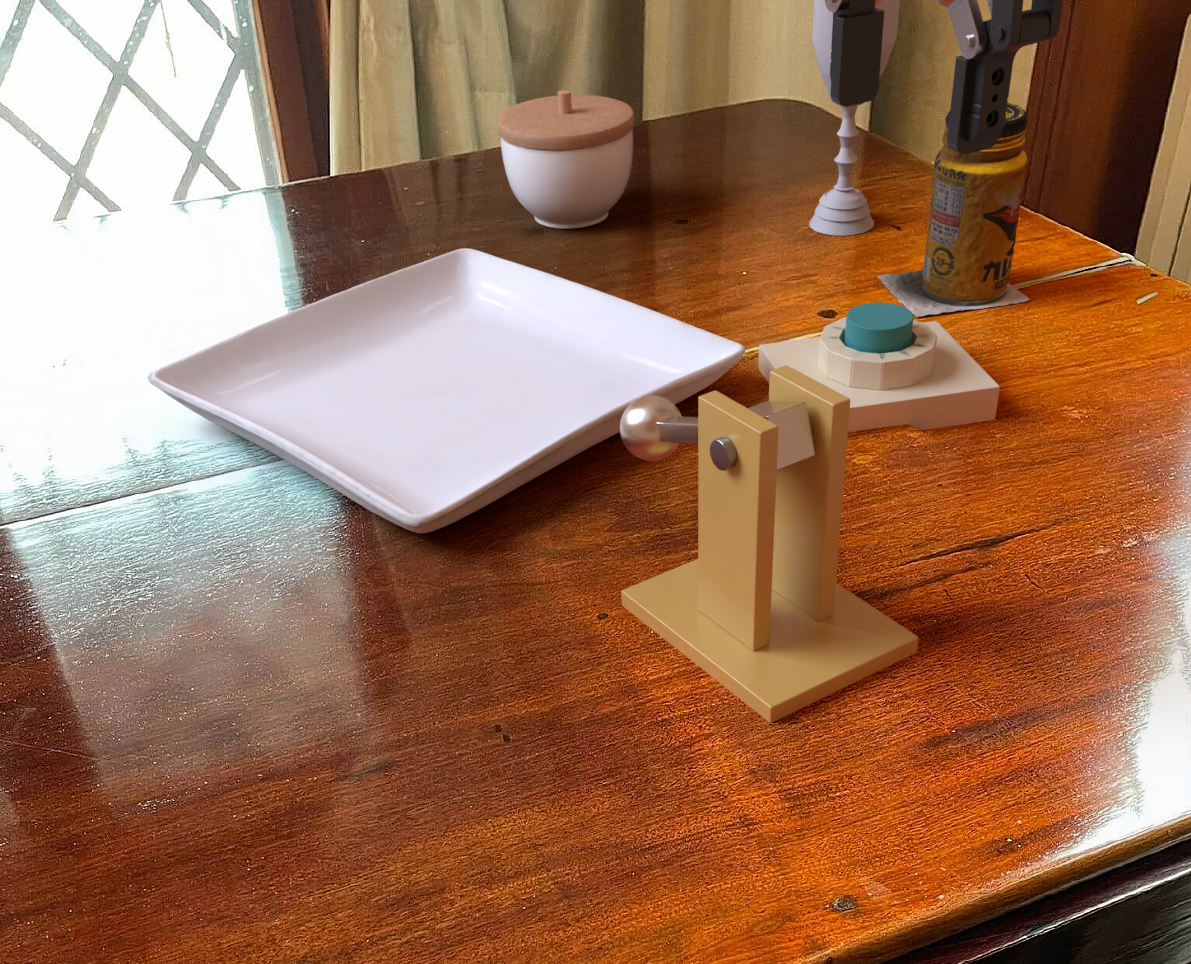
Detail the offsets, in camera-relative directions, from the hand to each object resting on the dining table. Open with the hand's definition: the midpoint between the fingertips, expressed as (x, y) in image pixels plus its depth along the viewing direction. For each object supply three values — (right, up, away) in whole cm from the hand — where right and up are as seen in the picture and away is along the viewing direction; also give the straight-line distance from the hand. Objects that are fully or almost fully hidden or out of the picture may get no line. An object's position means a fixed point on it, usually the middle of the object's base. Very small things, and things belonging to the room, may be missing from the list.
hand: (909, 124), depth 62 cm
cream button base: (+4, -5, +26) cm, 27 cm away
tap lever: (-8, -14, +5) cm, 17 cm away
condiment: (+11, +6, +38) cm, 40 cm away
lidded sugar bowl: (-16, +18, +53) cm, 58 cm away
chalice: (+6, +15, +49) cm, 51 cm away
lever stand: (-6, -22, +7) cm, 24 cm away
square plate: (-23, -5, +27) cm, 36 cm away
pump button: (+3, -2, +24) cm, 24 cm away
